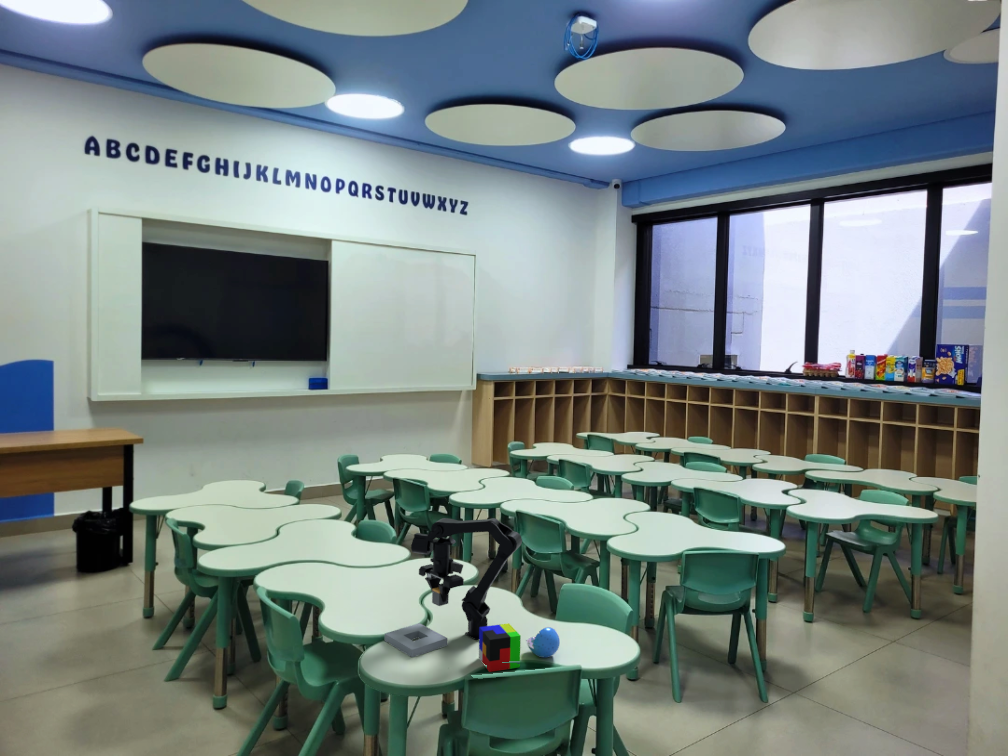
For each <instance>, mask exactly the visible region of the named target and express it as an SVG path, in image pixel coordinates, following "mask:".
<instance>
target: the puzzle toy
mask: <svg viewBox="0 0 1008 756" xmlns="http://www.w3.org/2000/svg"><path fill="white" fill-rule="evenodd" d="M521 637H522V636H521V634H520V633H519V632H518V631H517V630H516V629H515V628H514V627H513V626H512V625H511V624H510V623H508V622H507V623H501V624H494V625H487V626H484V627H479V640H478V659H479V660H480V662H481V661H482V662H483V663H484V664H485V665H487V668H486V669H487V671H488V672H489V673H492V672H498V671H504V670H505V671H506V670H511V669H517V668H520V667H521V663H520V664H517V663H502V662H509V661H520V662H521ZM482 662H481V663H482ZM483 663H482V664H483ZM484 664H483V665H484Z"/></svg>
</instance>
